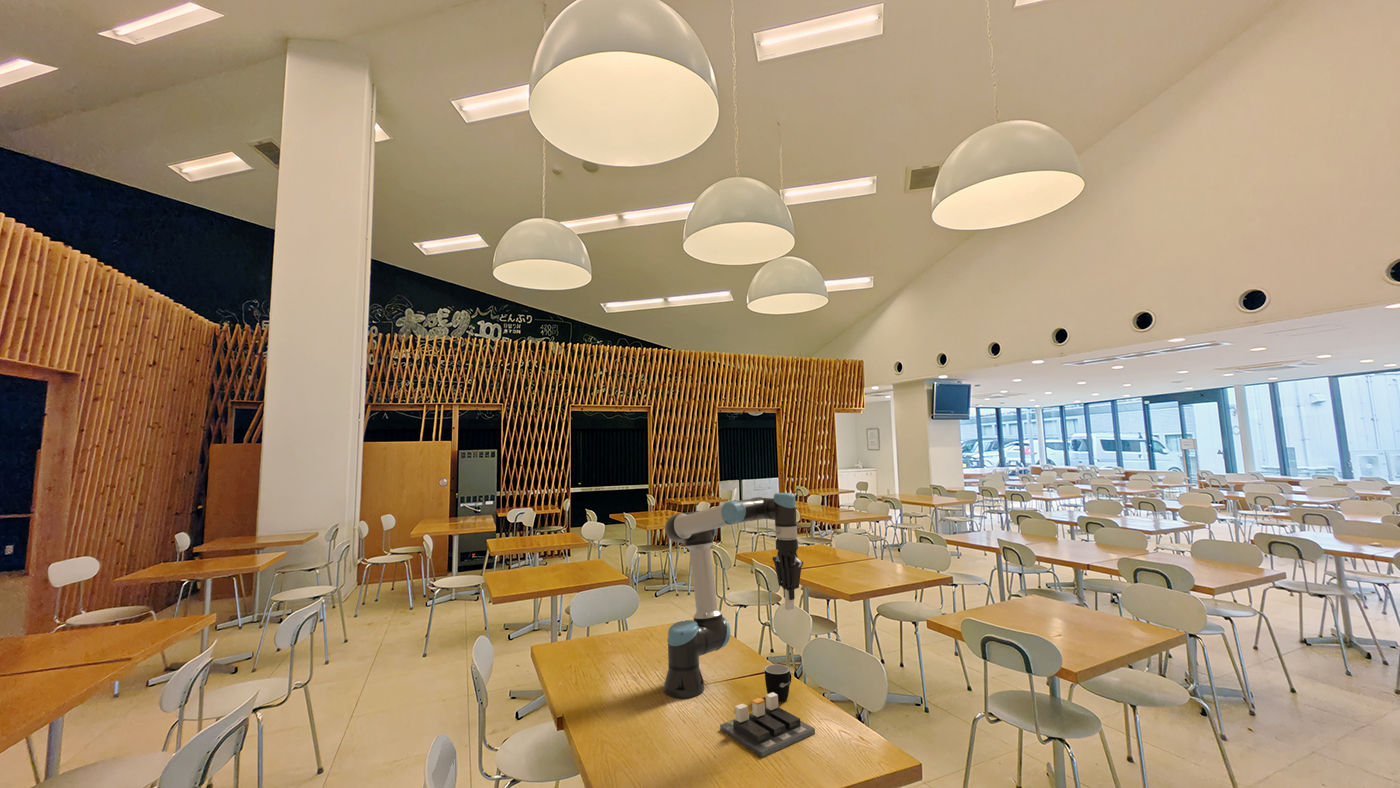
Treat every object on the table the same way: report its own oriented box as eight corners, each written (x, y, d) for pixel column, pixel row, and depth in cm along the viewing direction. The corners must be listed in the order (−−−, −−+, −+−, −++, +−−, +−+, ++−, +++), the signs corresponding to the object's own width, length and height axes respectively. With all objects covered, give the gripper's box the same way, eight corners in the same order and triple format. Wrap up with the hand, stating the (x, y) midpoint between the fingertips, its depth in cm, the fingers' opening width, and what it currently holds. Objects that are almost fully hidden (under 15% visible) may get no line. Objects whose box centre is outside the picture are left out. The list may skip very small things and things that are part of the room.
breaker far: (766, 707, 176) (765, 694, 176) (773, 704, 177) (772, 692, 178) (771, 710, 174) (770, 697, 174) (778, 707, 175) (777, 694, 176)
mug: (779, 706, 184) (778, 676, 185) (760, 698, 191) (759, 668, 192) (801, 695, 192) (799, 666, 193) (781, 688, 199) (780, 659, 200)
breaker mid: (752, 714, 171) (751, 700, 172) (760, 711, 173) (759, 697, 174) (757, 717, 169) (756, 703, 170) (765, 714, 171) (764, 700, 172)
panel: (720, 729, 170) (720, 718, 170) (771, 709, 182) (771, 698, 182) (761, 757, 153) (761, 744, 154) (815, 733, 166) (814, 721, 166)
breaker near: (735, 719, 168) (735, 706, 169) (743, 716, 170) (742, 703, 170) (740, 722, 166) (739, 709, 167) (748, 719, 168) (747, 706, 169)
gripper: (765, 537, 187) (768, 606, 184) (792, 541, 177) (795, 615, 174) (781, 535, 191) (784, 603, 189) (807, 539, 181) (811, 611, 178)
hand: (789, 608), depth 181 cm, fingers closed
